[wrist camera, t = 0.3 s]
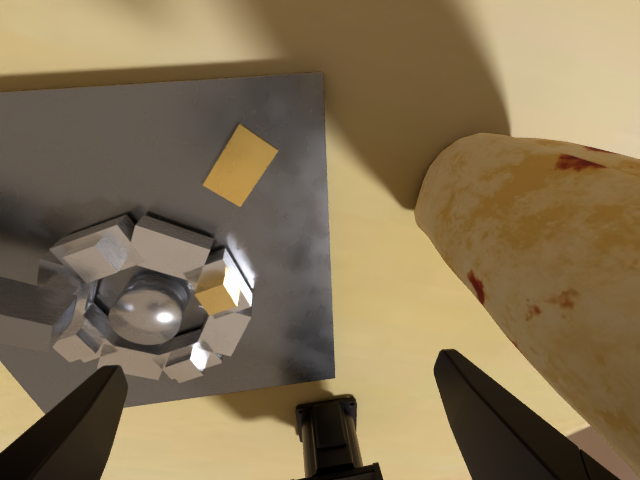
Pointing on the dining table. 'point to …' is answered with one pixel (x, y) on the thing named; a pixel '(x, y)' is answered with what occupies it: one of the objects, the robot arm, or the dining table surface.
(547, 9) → the dining table surface
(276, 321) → the cap plate
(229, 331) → the grey ring frame
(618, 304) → the food model
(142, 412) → the dining table surface
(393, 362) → the dining table surface
